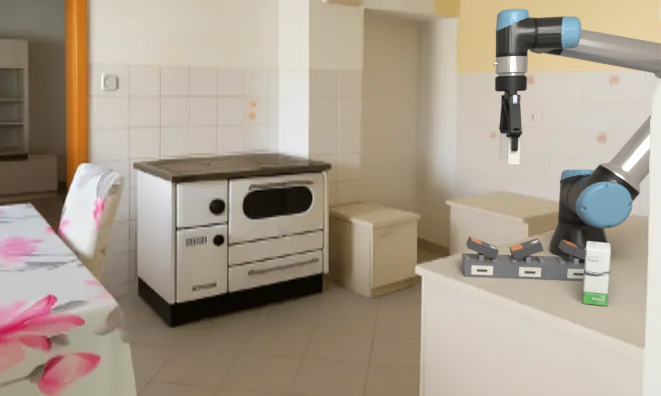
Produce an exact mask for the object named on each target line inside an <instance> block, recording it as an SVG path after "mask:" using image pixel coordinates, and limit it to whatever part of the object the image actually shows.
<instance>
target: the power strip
mask: <svg viewBox="0 0 661 396" xmlns="http://www.w3.org/2000/svg"><path fill="white" fill-rule="evenodd" d="M584 264H585V260H584V259H581V258H579V257H576V256H573V255H571V254H570V257H564V256H558V255H557V256H554V255H553V256H552V255H529V256H525V257H522V258H519V259H515V260H514V258H513V256H512V255H511V254H499V253H498V255H497V257H496V259H494V258H491V257H489V256H486V255H484V254H481V253H478V252H476V253H468V252H467V253H465V252H464V253H463V252H462V253H461V269H462V272H463V276H464V277H466V276H469V277H470V276H471V277H473V278H492V277H493V278H494V279H495V278H497V279H522V280H524V279H525V280H549V281H570V282H571V281H574V282H576V281H577V282H583V277H584ZM471 277H470V278H471ZM493 278H492V279H493Z"/></svg>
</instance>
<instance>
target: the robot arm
mask: <svg viewBox="0 0 661 396" xmlns="http://www.w3.org/2000/svg"><path fill="white" fill-rule="evenodd" d="M495 26H496V27H495V61H493V62H492V65H493V66H495V74H496V75H497V76H495V78H494V90H495V91H496V92H504V94H502V95H500V97H501V98H500V99H501V102H500V104H501V105H500V116H499V117H500V119H499V126H498V129H499V132H500V135H499V136H500V137H499V143H500V144H499V159H502V160H505V159H506V160H507V165H520V163H521V162H520V161H521V160H520V159H521V136H522V134H523V127H522V126H523V125H522V111H521V98H522V96H521V94H518V92H524V91H527V89H528V77H527V75H525V74H527V73H528V63H529V62H528V61H529V57H528V51H530V52H531V53H535V54H539V55H541V54H547V55H553V56H559V57H565V58H570V59H575V60H581V61H586V62H592V63H596V64H603V65H606V66H607V65H608V66H614V67H618V68H624V69H630V70H634V71H641V72H645V73H650V74H654V76H655V78H656V79H661V42H656V41H649V40H644V39H639V38H633V37H628V36H621V35H615V34H610V33H609V34H608V33H605V32H598V31H595V30H594V31H593V30H587V29H582V23H581V20H580V18H579V17H578V16H570V15H569V16H567V15H563V16H550V17H549V16H547V17H530V14H529V10H528V9H526V8H509V9H508V8H507V9H503V10H501V11H499V12H498V13H497V15H496V25H495ZM650 119H651V114H650V115H649V116H648V117H647V119H646V120H645V121H644V122H643V124H641V126H640V127H639V128H638V129H637V130H636V132H634V134H632V136H631V137H630V138H629V139H628V140H627V142H626V143H625V144H624V145H623V147H622V148H620V150H619V151H618V152H617V153H616V155H615V156H614V157H613V158H612V159H611V160H610V162H609V161H608V162H603V163H599V165H598V166H597V167H596V168H595V169H565V170H562V172H561V175H560V179H559V200H558V216H557V217H558V218H557V225H556V227H555V230H554V232H553V235H552V236H551V239H550V242H549V251H550V252H551V253H552V254H554V255H557V256H559V257H570V254H568V253H566V252H563V251H562V250H561V249H560V248H559V247H558V246H559V244H560V242H561V239H563V240H566V241H568V242H571V243H573V244H576V245H578V246H581V247H584V248H586V243H587V241H594V242H603V243H609V242H608V240H607V239H608V238H607V235H606V232H605V229H611V228H615V227H617V226H619V225H621V224H623V223H624V222H625V221H626V220H627V219H628V218H629V217H630V214H631V212H632V210H633V202H634V201H635V199H637V197H638V196H639V195H640V194H641V189H640V187H641V186H640V184H641V182H643V180H645V178H646V177H647V176H648V175H649V174H650V172H649V156H650Z"/></svg>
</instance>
